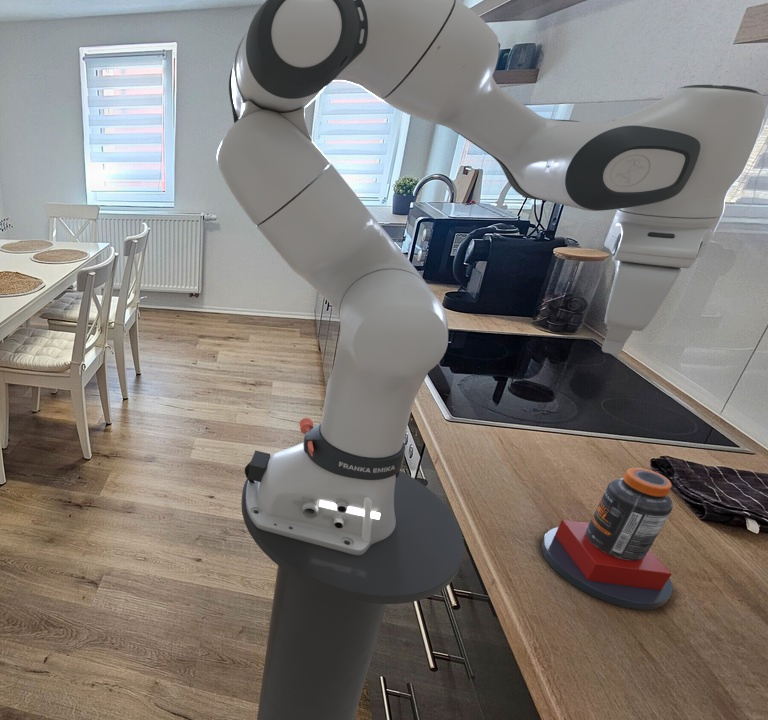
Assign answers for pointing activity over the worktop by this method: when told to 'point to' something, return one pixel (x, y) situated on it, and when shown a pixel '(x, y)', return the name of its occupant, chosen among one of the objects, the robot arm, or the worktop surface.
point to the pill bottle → (631, 514)
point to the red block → (609, 561)
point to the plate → (603, 591)
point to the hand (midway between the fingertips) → (612, 340)
